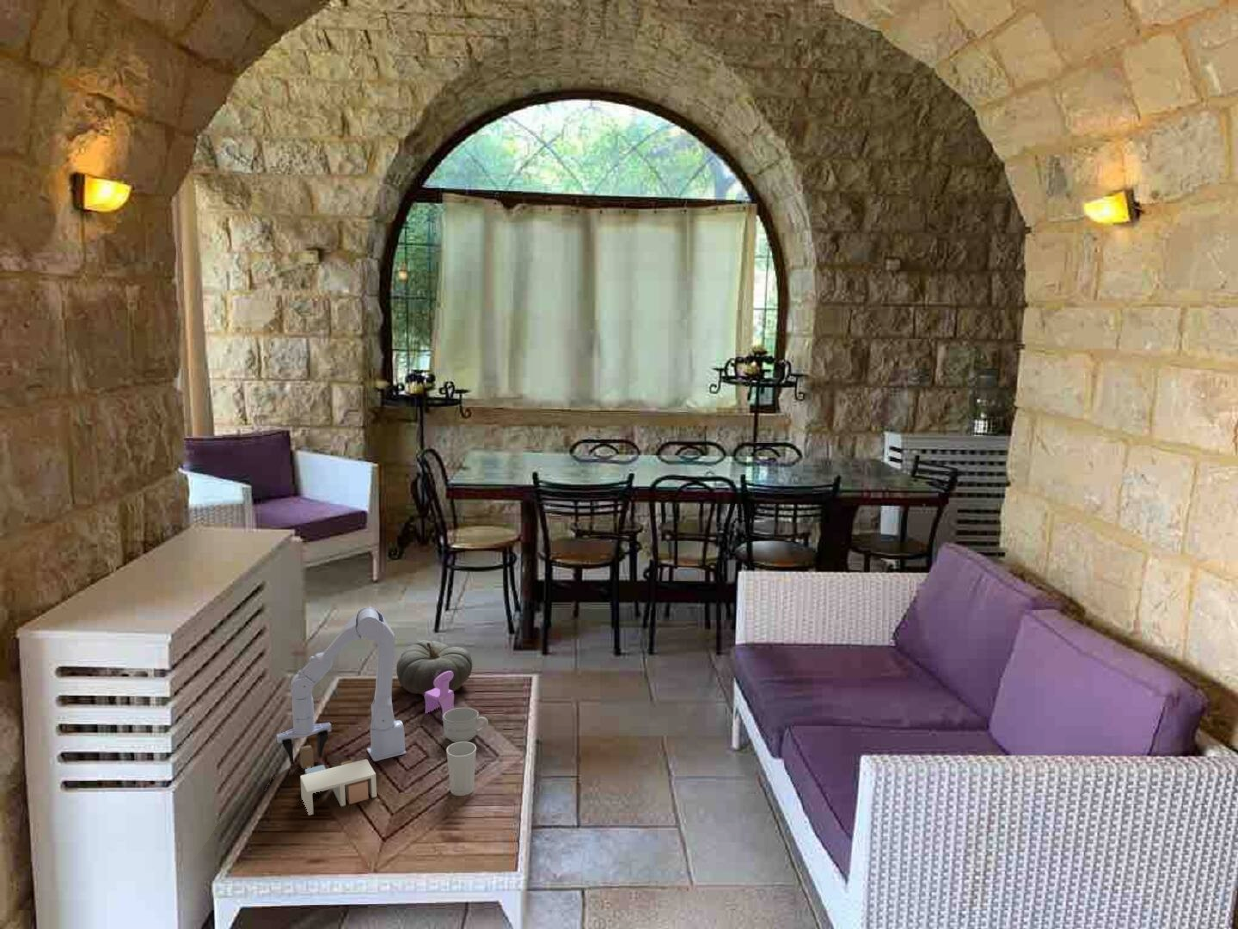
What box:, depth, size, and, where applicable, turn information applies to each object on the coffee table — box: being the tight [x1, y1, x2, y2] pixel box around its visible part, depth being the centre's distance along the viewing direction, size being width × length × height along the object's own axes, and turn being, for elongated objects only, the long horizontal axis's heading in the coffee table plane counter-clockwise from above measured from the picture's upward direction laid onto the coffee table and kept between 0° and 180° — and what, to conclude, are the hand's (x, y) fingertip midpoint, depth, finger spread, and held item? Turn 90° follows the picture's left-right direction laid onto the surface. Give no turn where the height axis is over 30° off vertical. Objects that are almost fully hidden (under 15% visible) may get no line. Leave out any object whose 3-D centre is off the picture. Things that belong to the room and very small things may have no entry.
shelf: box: [299, 758, 378, 816], centre depth 230 cm, size 18×9×7 cm, turn 121°
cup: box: [445, 741, 477, 797], centre depth 234 cm, size 8×8×12 cm
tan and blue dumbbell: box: [299, 744, 330, 792], centre depth 240 cm, size 5×17×6 cm, turn 31°
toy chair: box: [423, 671, 455, 721], centre depth 278 cm, size 8×9×15 cm
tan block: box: [340, 759, 369, 805], centre depth 234 cm, size 5×12×6 cm, turn 31°
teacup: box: [442, 707, 489, 743], centre depth 262 cm, size 14×11×8 cm
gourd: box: [396, 639, 473, 697], centre depth 296 cm, size 25×25×17 cm
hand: (305, 759), depth 247 cm, fingers open, 7 cm apart
